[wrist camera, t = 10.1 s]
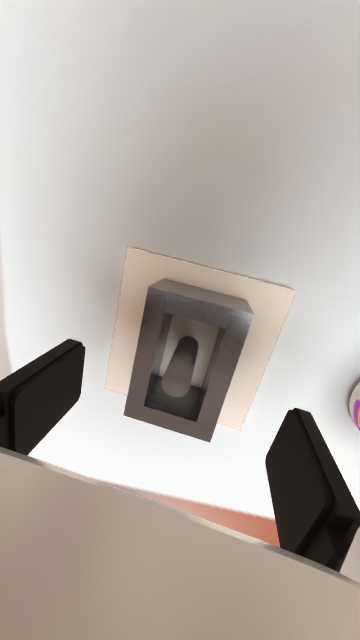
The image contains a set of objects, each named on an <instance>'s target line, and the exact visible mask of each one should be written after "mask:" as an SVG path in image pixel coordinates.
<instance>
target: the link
mask: <svg viewBox="0 0 360 640" xmlns="http://www.w3.org/2000/svg"><path fill="white" fill-rule="evenodd" d="M173 315H177V316H181V317H184V318H188V319H192V320H195V321H199V322H203V323H206V324H210V325H214V326H217V327H220V329H219V332H218V335H217V339H216V342H215V345H214V348H213V352H212V355H211V358H210V362H209V365H208V368H207V371H206V375H205V378H204V381H203V385H202V388H199V387H195V386H192V385H190V389H189V391H188V392H187V393H186V394H185V395H184V396H181V397H173V396H170V395H169V394H167V393H166V392H165V391H164V390H163V388H162V384H161V381H162V378H163V377H162V376H159V371H160V367H161V363H162V359H163V354H164V350H165V346H166V341H167V337H168V333H169V329H170V324H171V320H172V316H173ZM253 317H254V313H253V311H252V309H251V307H250V305H249V304H248V302H247V300H246V299H242V298H238V297H234V296H230V295H226V294H223V293H219V292H215V291H211V290H207V289H203V288H200V287H196V286H192V285H188V284H184V283H180V282H177V281H173V280H169V279H165V278H164V279H162V280H160V281H158V282H156V283H154V284H152V285H150V286H148V291H147V296H146V301H145V307H144V312H143V317H142V322H141V327H140V333H139V338H138V343H137V348H136V353H135V359H134V364H133V369H132V374H131V380H130V385H129V390H128V395H127V400H126V406H125V411H124V415H125V416H128V417H131V418H134V419H137V420H140V421H144V422H147V423H150V424H153V425H156V426H159V427H163V428H166V429H169V430H172V431H175V432H178V433H182V434H185V435H188V436H191V437H194V438H198V439H201V440H204V441H207V442H210V441H211V438H212V435H213V432H214V429H215V426H216V424H217V421H218V418H219V415H220V412H221V409H222V406H223V403H224V400H225V398H226V395H227V392H228V389H229V386H230V383H231V380H232V377H233V374H234V372H235V369H236V366H237V363H238V360H239V357H240V354H241V351H242V349H243V346H244V343H245V340H246V337H247V334H248V331H249V328H250V325H251V323H252V320H253Z"/></svg>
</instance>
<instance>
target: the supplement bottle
mask: <svg viewBox="0 0 360 640" xmlns="http://www.w3.org/2000/svg"><path fill="white" fill-rule="evenodd" d="M349 409H350V414H351V417H352V420H353V422H354V423H355V425H356V426H357V428H358V429H359V430H360V382H359V383H358V384H357V386H356V387H355V389H354V390H353V392H352V394H351V397H350V402H349Z"/></svg>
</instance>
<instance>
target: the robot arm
mask: <svg viewBox="0 0 360 640" xmlns="http://www.w3.org/2000/svg"><path fill="white" fill-rule="evenodd" d="M84 357H85V347H84V346H83V344H82V343H81V342H79V341H76V340H72V339H67V340H66V341H64V342H63V343H61V344H59V345H58V346H56V347H54V348H53V349H51V350H50V351H48V352H46V353H45V354H43V355H41V356H40V357H38V358H37V359H35V360H33V361H32V362H30V363H28V364H27V365H25V366H24V367H22V368H20V369H19V370H17V371H16V372H14V373H12V374H11V375H9V376H7V377H6V378H4V379H3V380H1V381H0V640H360V511H359V509H358V507H357V505H356V503H355V501H354V499H353V497H352V495H351V493H350V491H349V489H348V487H347V485H346V483H345V481H344V479H343V477H342V475H341V473H340V471H339V469H338V467H337V465H336V463H335V461H334V459H333V457H332V455H331V453H330V451H329V449H328V447H327V445H326V443H325V441H324V439H323V437H322V435H321V433H320V431H319V429H318V427H317V425H316V423H315V421H314V419H313V417H312V415H311V413H310V412H308V411H304V410H301V409H298V408H294V409H293V410H289V411H288V412H287V414H286V416H285V418H284V420H283V422H282V425H281V427H280V429H279V431H278V433H277V435H276V437H275V439H274V441H273V443H272V445H271V447H270V449H269V451H268V453H267V456H266V461H265V463H266V470H267V475H268V481H269V486H270V492H271V498H272V503H273V509H274V514H275V520H276V525H277V531H278V536H279V542H280V548H279V547H277V546H274V545H272V544H269V543H266V542H264V541H261V540H259V539H256V538H253V537H250V536H248V535H245V534H242V533H240V532H237V531H234V530H232V529H229V528H226V527H223V526H221V525H218V524H215V523H213V522H210V521H207V520H204V519H202V518H199V517H196V516H194V515H191V514H188V513H185V512H183V511H180V510H177V509H174V508H172V507H169V506H166V505H163V504H161V503H158V502H155V501H153V500H150V499H147V498H144V497H141V496H138V495H136V494H133V493H130V492H128V491H125V490H122V489H119V488H117V487H114V486H111V485H108V484H106V483H103V482H100V481H97V480H94V479H92V478H89V477H86V476H83V475H80V474H77V473H75V472H72V471H69V470H66V469H63V468H61V467H58V466H55V465H52V464H49V463H47V462H44V461H41V460H38V459H35V458H32V457H29V456H27V455H28V454H29V453H30V452H31V451H32V450H33V449H34V447H35V446H36V445H37V444H38V443H39V442H40V441H41V440H42V439H43V438H44V437H45V436H46V435H47V433H48V432H49V431H50V430H51V429H52V428H53V427H54V426H55V425H56V424H57V423H58V422H59V421H60V419H61V418H62V417H63V416H64V415H65V414H66V413H67V412H68V411H69V410H70V409H71V408H72V407H73V406H74V404H75V403H76V402H77V401H78V399H79V397H80V394H81V386H82V376H83V367H84Z"/></svg>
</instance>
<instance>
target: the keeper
mask: <svg viewBox="0 0 360 640" xmlns="http://www.w3.org/2000/svg"><path fill="white" fill-rule="evenodd" d="M164 278H165V279H169V280H173V281H177V282H180V283H184V284H188V285H192V286H196V287H200V288H203V289H207V290H211V291H215V292H219V293H223V294H226V295H230V296H234V297H238V298H242V299H246V300H247V302H248V304H249V305H250V307H251V309H252V311H253V313H254V317H253V320H252V323H251V325H250V328H249V331H248V334H247V337H246V340H245V343H244V346H243V349H242V351H241V354H240V357H239V360H238V363H237V366H236V369H235V372H234V374H233V377H232V380H231V383H230V386H229V389H228V392H227V395H226V398H225V400H224V403H223V406H222V409H221V412H220V415H219V418H218V421H217V424H220V425H223V426H227V427H230V428H233V429H236V430H239V431H241V429H242V426H243V424H244V421H245V419H246V416H247V414H248V411H249V409H250V406H251V404H252V401H253V399H254V396H255V394H256V391H257V389H258V386H259V384H260V381H261V379H262V376H263V374H264V371H265V369H266V366H267V364H268V361H269V359H270V356H271V354H272V351H273V349H274V346H275V344H276V341H277V338H278V336H279V333H280V331H281V328H282V326H283V323H284V321H285V318H286V316H287V313H288V311H289V308H290V306H291V303H292V301H293V298H294V296H295V293H296V291H295V290H293V289H291V288H287V287H283V286H279V285H275V284H272V283H268V282H264V281H260V280H256V279H252V278H248V277H245V276H241V275H237V274H233V273H229V272H225V271H221V270H217V269H214V268H210V267H206V266H202V265H198V264H194V263H190V262H187V261H183V260H179V259H175V258H171V257H167V256H163V255H159V254H156V253H152V252H148V251H144V250H140V249H136V248H132V247H127V252H126V258H125V265H124V271H123V277H122V283H121V289H120V296H119V302H118V308H117V314H116V320H115V327H114V333H113V339H112V345H111V352H110V358H109V364H108V370H107V376H106V383H105V389H108V390H111V391H115V392H118V393H121V394H124V395H128V390H129V385H130V380H131V374H132V369H133V364H134V359H135V353H136V348H137V343H138V338H139V333H140V327H141V322H142V317H143V312H144V307H145V301H146V296H147V291H148V286H150V285H152V284H154V283H156V282H158V281H160V280H162V279H164ZM219 329H220V327H217V326H214V325H210V324H206V323H203V322H199V321H195V320H192V319H188V318H184V317H181V316H177V315H173V316H172V320H171V324H170V329H169V333H168V337H167V341H166V346H165V350H164V354H163V359H162V363H161V367H160V371H159V376H162V377H163V378H162V381H161V384H162V388H163V390H164V391H165V392H166V393H167V394H169V395H170V396H173V397H181V396H184V395H185V394H186V393H187V392H188V391H189V389H190V385H192V386H195V387H199V388H202V385H203V381H204V378H205V375H206V371H207V368H208V365H209V362H210V358H211V355H212V352H213V348H214V345H215V342H216V339H217V335H218V332H219Z"/></svg>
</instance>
